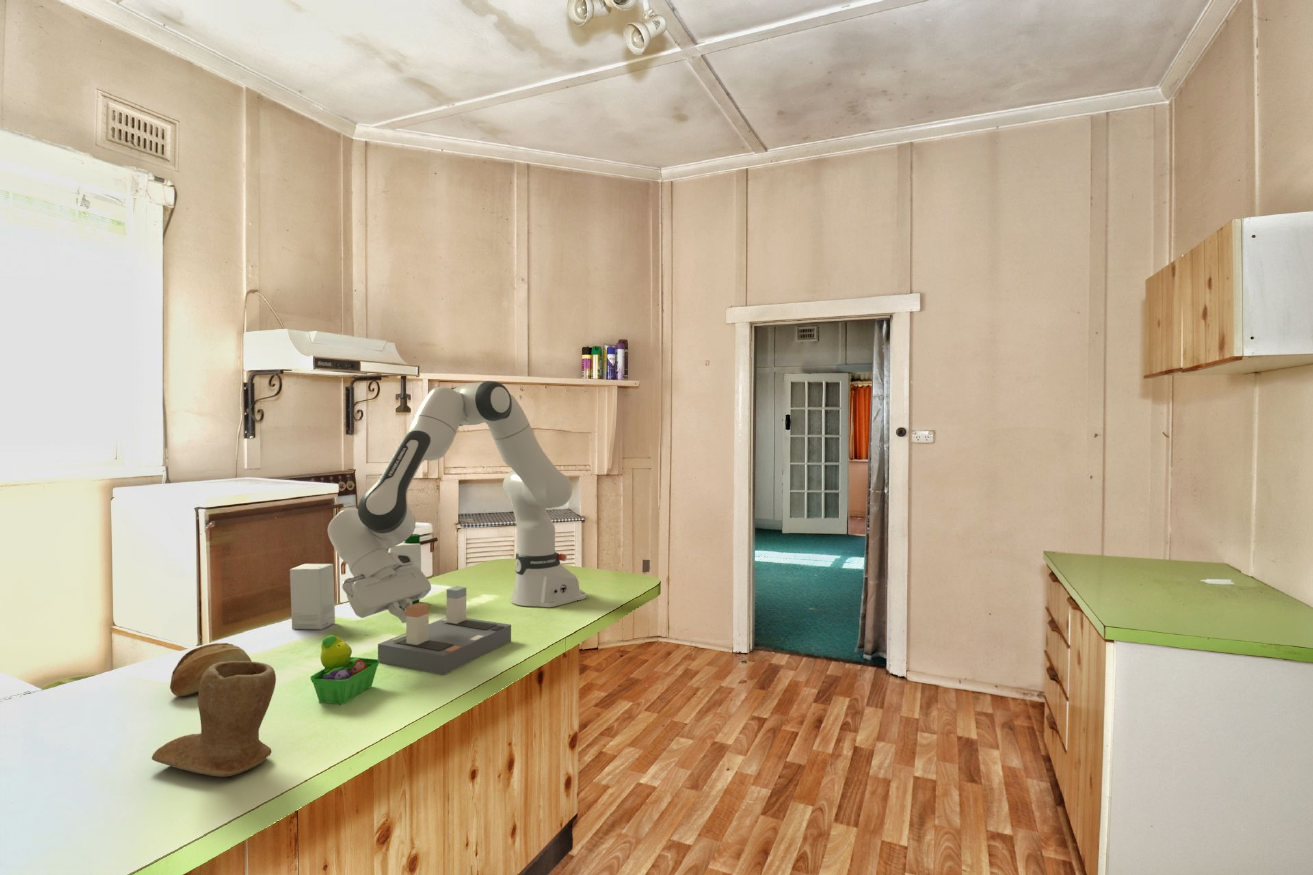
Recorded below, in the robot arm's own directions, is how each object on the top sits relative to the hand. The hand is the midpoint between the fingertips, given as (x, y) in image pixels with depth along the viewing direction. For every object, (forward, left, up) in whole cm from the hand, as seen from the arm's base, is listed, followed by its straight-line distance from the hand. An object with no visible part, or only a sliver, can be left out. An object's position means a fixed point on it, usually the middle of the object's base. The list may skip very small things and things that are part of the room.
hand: (410, 619), depth 149 cm
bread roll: (+36, -8, -9) cm, 38 cm away
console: (-9, -1, -9) cm, 13 cm away
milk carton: (-13, -46, -9) cm, 48 cm away
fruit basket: (+16, +11, -9) cm, 22 cm away
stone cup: (+37, +28, -9) cm, 48 cm away
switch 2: (-14, -8, -5) cm, 17 cm away
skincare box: (+12, -39, -9) cm, 42 cm away
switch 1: (-1, +2, -5) cm, 5 cm away
